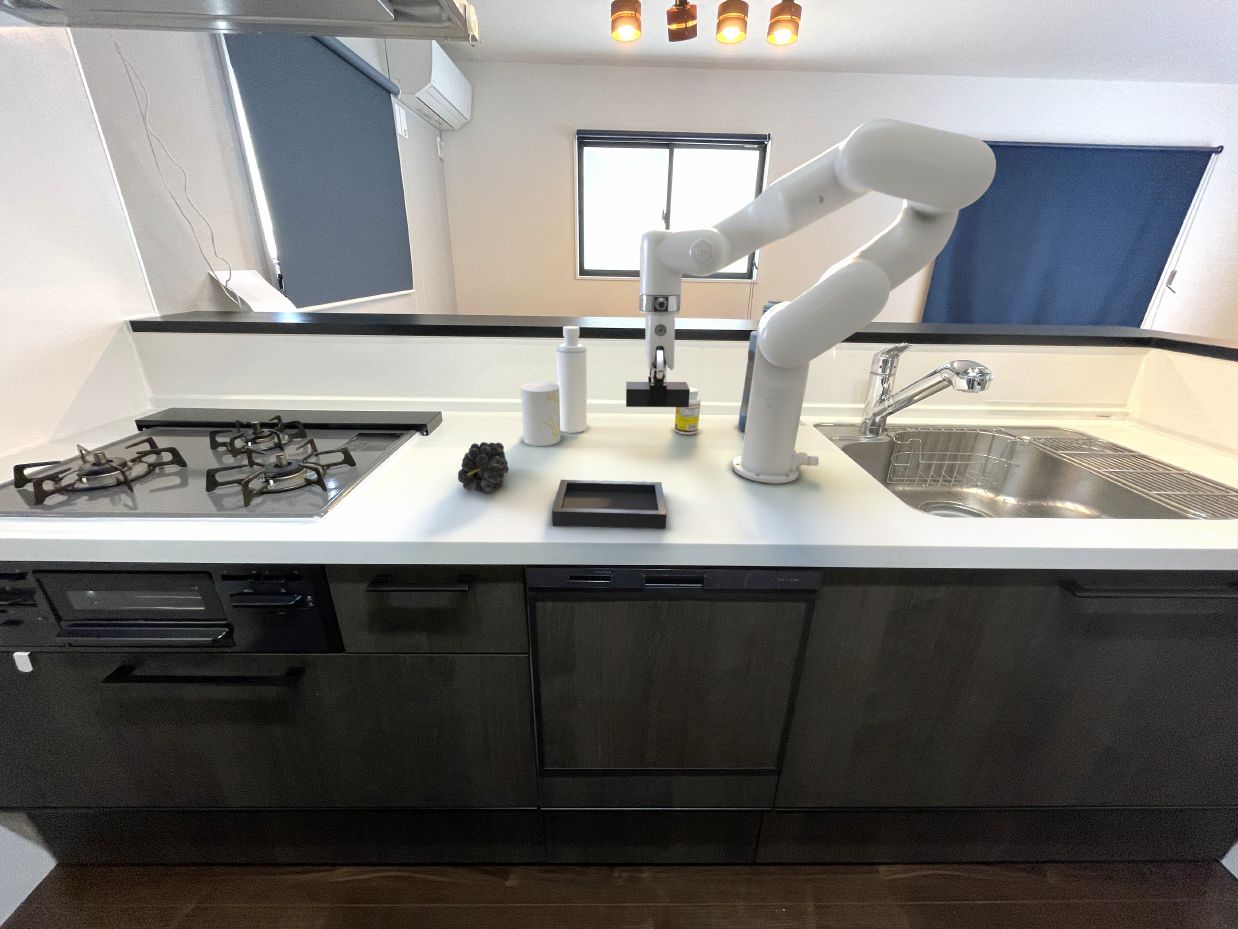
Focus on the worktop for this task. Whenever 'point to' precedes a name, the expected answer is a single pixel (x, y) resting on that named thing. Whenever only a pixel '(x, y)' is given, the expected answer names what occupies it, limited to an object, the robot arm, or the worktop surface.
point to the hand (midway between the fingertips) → (656, 399)
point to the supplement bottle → (688, 415)
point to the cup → (541, 413)
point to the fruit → (483, 467)
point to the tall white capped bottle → (572, 382)
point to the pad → (640, 391)
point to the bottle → (750, 368)
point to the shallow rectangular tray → (609, 504)
